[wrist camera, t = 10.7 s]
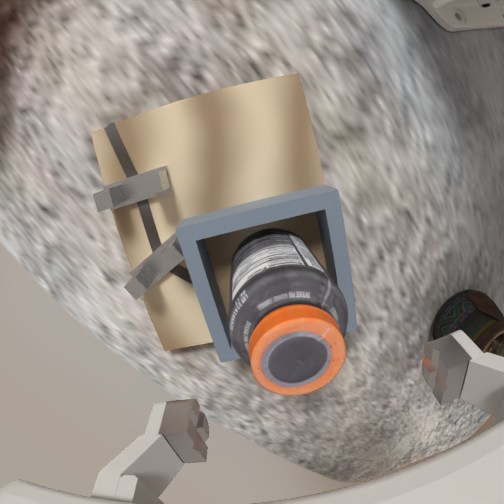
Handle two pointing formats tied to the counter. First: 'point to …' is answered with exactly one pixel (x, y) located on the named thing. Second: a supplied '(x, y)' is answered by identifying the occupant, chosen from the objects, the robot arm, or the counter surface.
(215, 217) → the end holder
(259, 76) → the counter surface
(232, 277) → the pill bottle
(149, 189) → the clips
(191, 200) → the board
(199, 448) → the robot arm
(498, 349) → the mate gourd
